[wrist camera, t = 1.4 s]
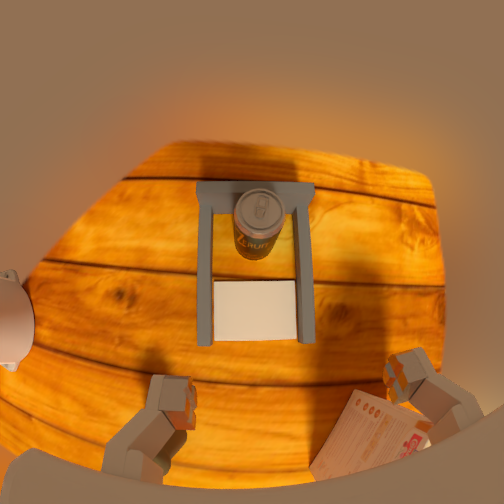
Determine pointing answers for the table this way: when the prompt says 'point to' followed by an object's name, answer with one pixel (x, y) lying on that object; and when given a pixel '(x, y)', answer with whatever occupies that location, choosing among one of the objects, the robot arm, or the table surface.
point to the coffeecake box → (370, 437)
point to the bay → (255, 292)
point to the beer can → (257, 223)
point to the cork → (170, 450)
